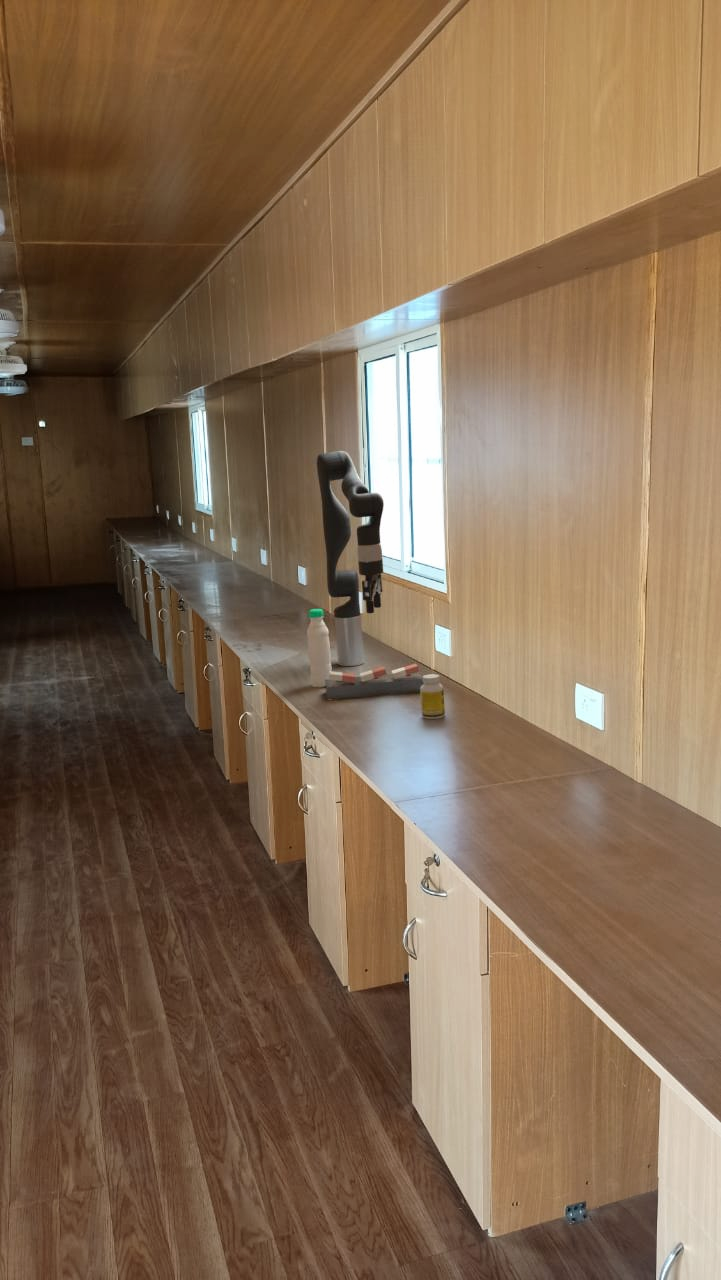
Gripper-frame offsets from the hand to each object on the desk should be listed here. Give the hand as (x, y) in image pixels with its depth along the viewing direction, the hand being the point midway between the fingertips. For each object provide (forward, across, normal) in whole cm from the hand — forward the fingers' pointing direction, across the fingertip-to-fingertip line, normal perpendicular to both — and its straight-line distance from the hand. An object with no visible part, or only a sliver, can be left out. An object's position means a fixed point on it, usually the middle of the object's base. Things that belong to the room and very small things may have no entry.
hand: (374, 610), depth 307 cm
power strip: (+25, +5, 0) cm, 25 cm away
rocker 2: (+20, +7, 0) cm, 21 cm away
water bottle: (+25, -3, -20) cm, 33 cm away
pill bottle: (+24, +32, +24) cm, 47 cm away
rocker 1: (+20, +10, -9) cm, 24 cm away
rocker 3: (+20, +4, +10) cm, 22 cm away
